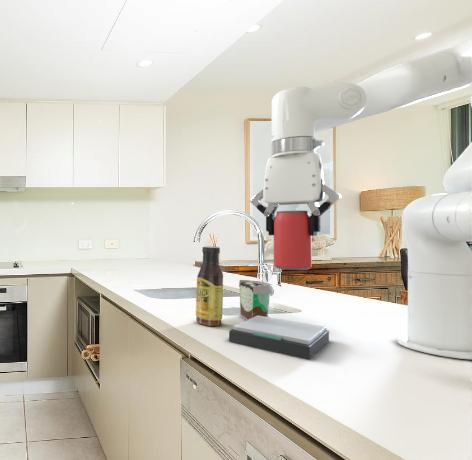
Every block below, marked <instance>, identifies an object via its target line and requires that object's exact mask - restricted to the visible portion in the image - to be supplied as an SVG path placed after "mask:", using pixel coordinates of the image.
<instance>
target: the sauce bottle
mask: <svg viewBox="0 0 472 460" xmlns="http://www.w3.org/2000/svg"><path fill="white" fill-rule="evenodd" d="M201 251H202V263H201V266H200V269H199V271H198V273H197V277H196V294H195V295H196V297H195V316H196V317H195V319H196V323H198V324H200V325H203V326H206V327H208V326H209V327H216V326H217V327H218V326H221V325H222V321H223V320H222V319H223V307H224V304H223V303H224V273H223V271H222V269H221V268H220V261H219V258H220V257H219V256H220V252H221V248H220V247H219V246H211V245H206V246H205V245H203V246H202V250H201Z"/></svg>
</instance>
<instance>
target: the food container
mask: <svg viewBox="0 0 472 460" xmlns="http://www.w3.org/2000/svg"><path fill="white" fill-rule="evenodd" d="M238 287H239V311H240V312H239V314H240V315H239V316H240V317H241V318H243V319H244V320H245V321H246V320H249V319H251V318H253V317H255V316H264V317H269V308H270V307H269V306H270V296H271V294H273V292H274V291H273V287H272V286H271V283H269V282H266V281H257V280H250V279H239V281H238Z"/></svg>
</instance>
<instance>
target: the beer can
mask: <svg viewBox="0 0 472 460" xmlns="http://www.w3.org/2000/svg"><path fill="white" fill-rule="evenodd" d="M310 216H311V215H310V214H309V211H308V210H278V211H276V212H275V219H274V235H273V266H274V267H275V268H276V269H280V270H288V271H289V270H290V271H308V270H310V269H312V266H313V263H312V261H313V260H312V256H313V255H312V254H313V252H312V250H313V249H312V247H313V240H312V238H313V236H311V235H309V217H310Z"/></svg>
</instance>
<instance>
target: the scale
mask: <svg viewBox="0 0 472 460" xmlns="http://www.w3.org/2000/svg"><path fill="white" fill-rule="evenodd" d="M228 342H231V343H233V344H239V345H243V346H247V347H252V348H256V349H260V350H265V351H268V352H269V351H270V352H273V353H278V354H282V355H288V356H291V357H295V358H301V359H305V360H311V359H312V358H313V357H314V356H315V355H316V354H317V353H318V352H319V351H320V350H322V349H323V348H324V347H325V346H326V345H327V344H328V343H329V342H330V330H328V329H327V326H324V325H318V324H314V323H313V324H312V323H307V322H300V321H294V320H289V319H282V318H277V317H276V318H275V317H270V316H268V317H264V316H255V317H253V318H251V319H249V320H246V319H245V320H244V321H242V322H239V323H238V324H237V323H236V324H235V325H233V328H232V329H230V330H228Z"/></svg>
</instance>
